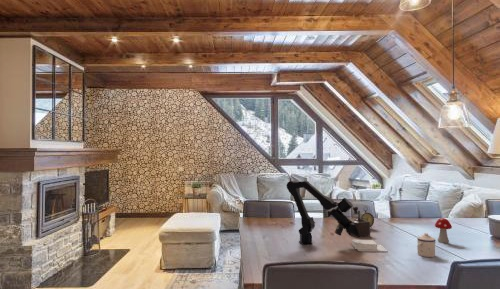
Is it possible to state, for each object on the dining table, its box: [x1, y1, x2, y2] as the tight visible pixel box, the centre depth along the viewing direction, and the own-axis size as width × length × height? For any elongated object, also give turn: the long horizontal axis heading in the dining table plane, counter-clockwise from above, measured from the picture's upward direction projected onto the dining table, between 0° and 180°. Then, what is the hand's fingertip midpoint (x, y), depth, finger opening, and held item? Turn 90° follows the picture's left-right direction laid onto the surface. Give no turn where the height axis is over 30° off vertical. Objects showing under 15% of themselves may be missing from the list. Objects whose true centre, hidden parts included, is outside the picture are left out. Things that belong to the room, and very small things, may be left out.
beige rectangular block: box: [351, 239, 378, 250], centre depth 211 cm, size 3×10×12 cm
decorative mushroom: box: [434, 217, 453, 245], centre depth 227 cm, size 10×9×15 cm
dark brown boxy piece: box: [348, 206, 371, 238], centre depth 248 cm, size 16×11×18 cm
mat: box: [356, 244, 388, 253], centre depth 211 cm, size 16×14×1 cm
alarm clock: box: [360, 206, 375, 229], centre depth 266 cm, size 11×5×16 cm, turn 105°
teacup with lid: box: [416, 233, 436, 258], centre depth 197 cm, size 12×9×12 cm
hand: (359, 236), depth 212 cm, fingers closed
